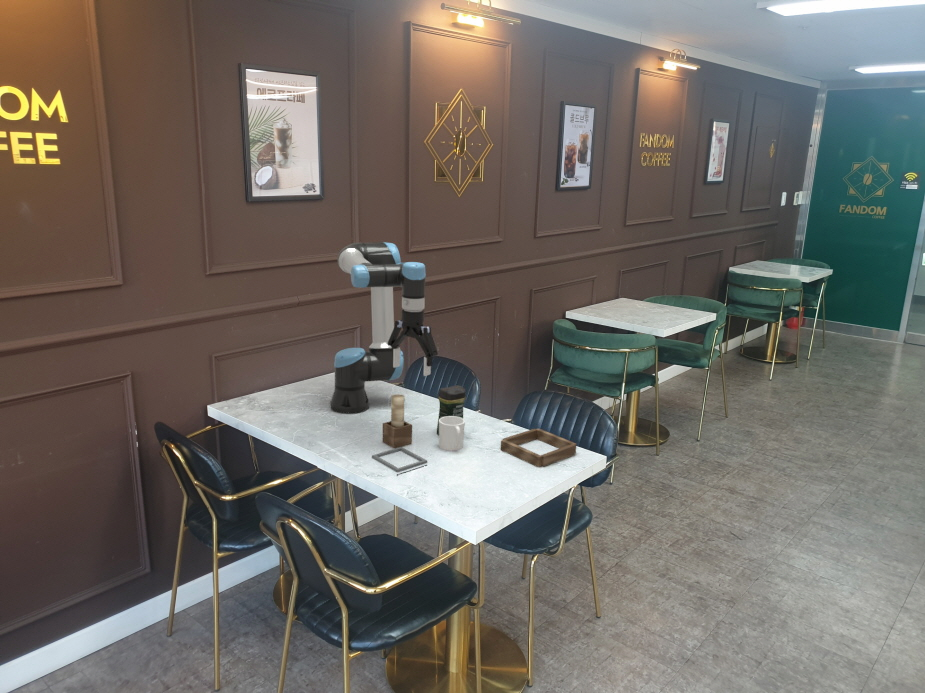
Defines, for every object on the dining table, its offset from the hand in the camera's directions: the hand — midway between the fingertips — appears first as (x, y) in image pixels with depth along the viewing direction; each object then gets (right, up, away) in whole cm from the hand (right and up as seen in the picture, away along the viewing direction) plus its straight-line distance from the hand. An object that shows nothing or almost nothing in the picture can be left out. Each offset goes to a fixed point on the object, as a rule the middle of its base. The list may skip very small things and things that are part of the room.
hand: (411, 370), depth 239 cm
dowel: (-5, -25, +5) cm, 26 cm away
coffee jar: (+13, -24, +16) cm, 32 cm away
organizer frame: (+43, -28, +5) cm, 52 cm away
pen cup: (-5, -26, +5) cm, 27 cm away
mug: (+14, -28, +3) cm, 31 cm away
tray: (-3, -30, -9) cm, 31 cm away
